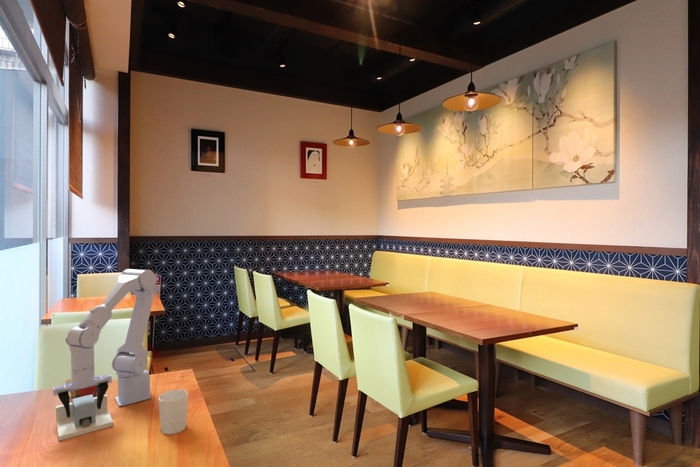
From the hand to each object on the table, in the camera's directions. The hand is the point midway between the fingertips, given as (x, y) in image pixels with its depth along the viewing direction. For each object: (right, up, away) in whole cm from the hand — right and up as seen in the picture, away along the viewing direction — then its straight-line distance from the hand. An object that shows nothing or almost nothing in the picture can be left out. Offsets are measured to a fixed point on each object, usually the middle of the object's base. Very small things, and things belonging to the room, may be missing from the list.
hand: (83, 411), depth 120 cm
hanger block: (+1, -2, -1) cm, 2 cm away
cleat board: (+1, -3, -1) cm, 4 cm away
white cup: (+28, -4, -3) cm, 29 cm away
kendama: (-15, -3, +21) cm, 26 cm away
